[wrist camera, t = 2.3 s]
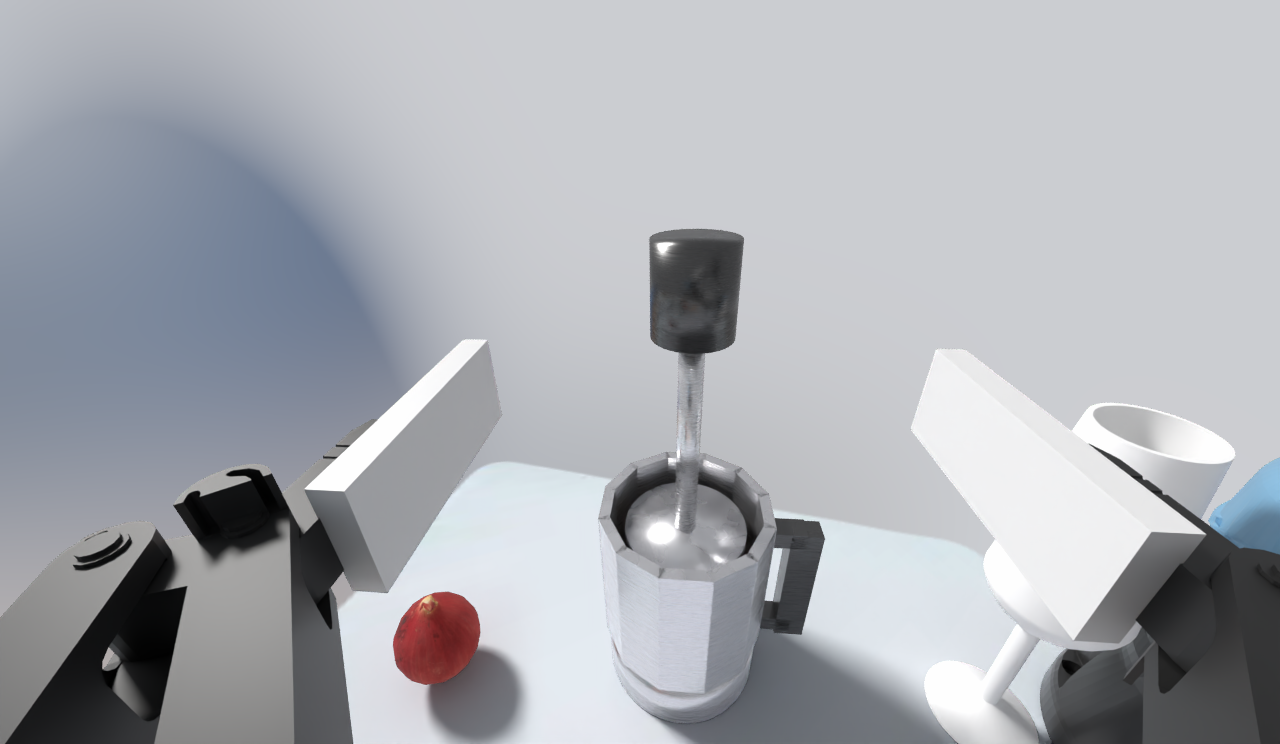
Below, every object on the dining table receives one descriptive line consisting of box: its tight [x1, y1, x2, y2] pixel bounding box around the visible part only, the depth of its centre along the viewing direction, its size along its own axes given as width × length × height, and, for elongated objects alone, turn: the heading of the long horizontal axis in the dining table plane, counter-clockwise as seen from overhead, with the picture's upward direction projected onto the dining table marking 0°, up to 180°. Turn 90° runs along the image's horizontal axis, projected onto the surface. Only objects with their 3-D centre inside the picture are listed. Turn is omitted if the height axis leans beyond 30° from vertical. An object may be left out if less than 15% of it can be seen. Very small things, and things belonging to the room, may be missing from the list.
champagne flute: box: [925, 403, 1235, 744], centre depth 26 cm, size 7×7×24 cm
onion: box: [393, 592, 480, 685], centre depth 33 cm, size 6×6×8 cm
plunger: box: [625, 229, 747, 571], centre depth 26 cm, size 8×8×19 cm
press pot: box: [598, 452, 825, 724], centre depth 33 cm, size 14×11×15 cm
